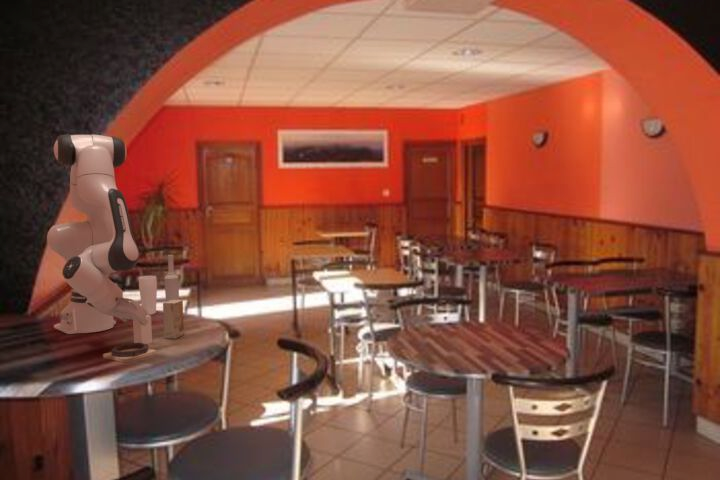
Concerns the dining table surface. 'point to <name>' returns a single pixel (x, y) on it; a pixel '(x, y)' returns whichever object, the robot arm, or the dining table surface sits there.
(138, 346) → the board
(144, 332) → the carton
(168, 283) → the bottle
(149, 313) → the drinking glass
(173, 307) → the skincare box
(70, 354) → the dining table surface
